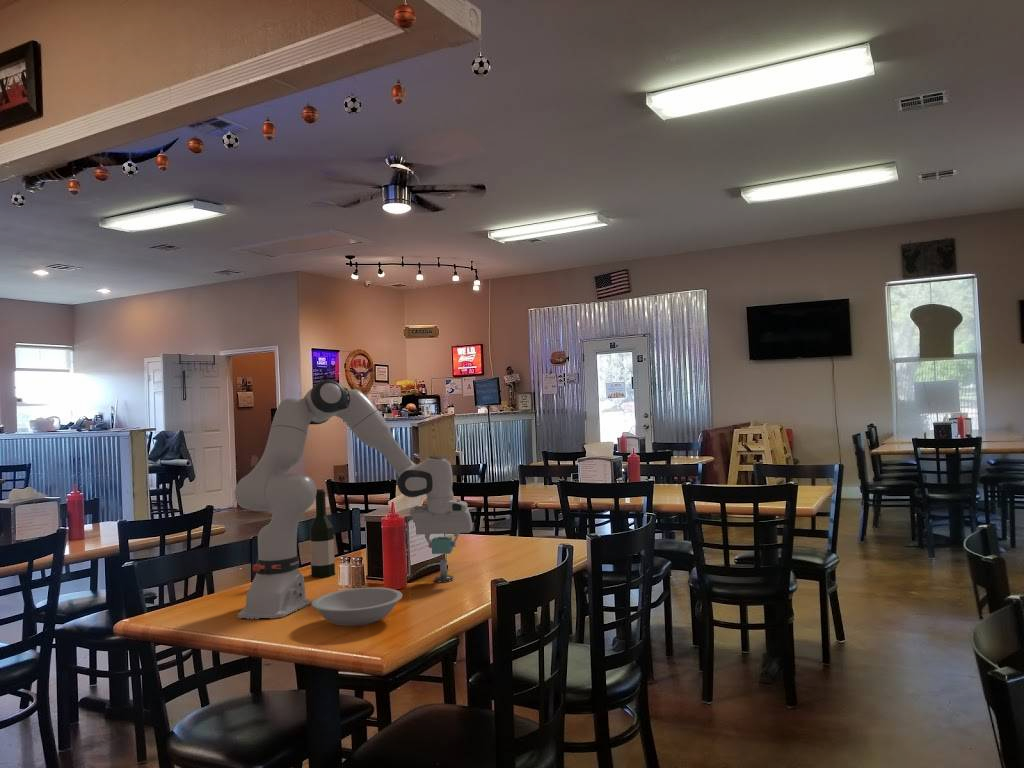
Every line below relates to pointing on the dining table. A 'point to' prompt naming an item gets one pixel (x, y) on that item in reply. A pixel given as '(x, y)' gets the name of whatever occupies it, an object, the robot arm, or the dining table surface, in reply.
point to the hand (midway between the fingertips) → (442, 547)
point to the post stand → (443, 572)
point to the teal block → (442, 545)
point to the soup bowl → (357, 605)
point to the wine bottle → (321, 541)
